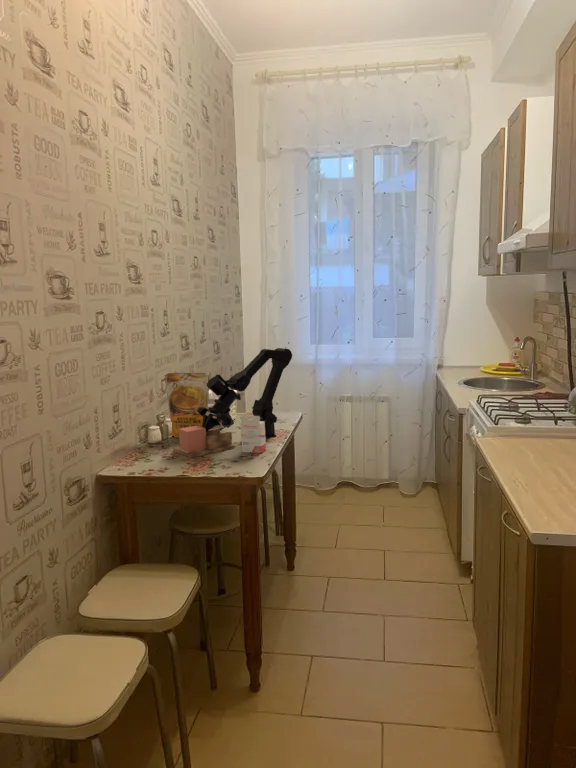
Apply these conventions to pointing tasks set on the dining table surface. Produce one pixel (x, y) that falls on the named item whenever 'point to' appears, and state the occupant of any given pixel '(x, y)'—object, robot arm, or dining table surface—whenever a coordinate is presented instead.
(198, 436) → the block
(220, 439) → the chute
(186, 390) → the pancake mix bag
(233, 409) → the storage basket
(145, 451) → the dining table surface
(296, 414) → the dining table surface
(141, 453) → the dining table surface
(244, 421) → the ink cartridge box
